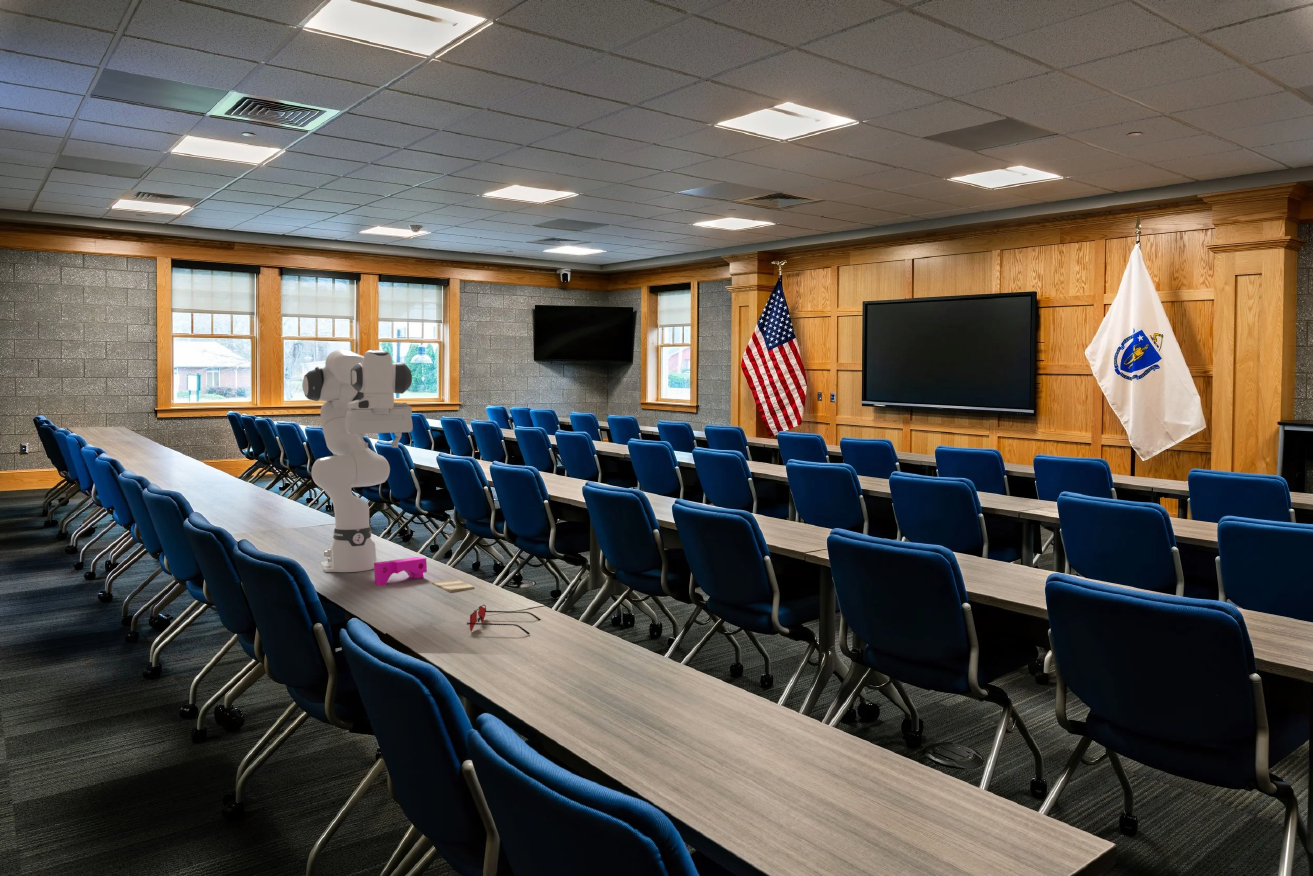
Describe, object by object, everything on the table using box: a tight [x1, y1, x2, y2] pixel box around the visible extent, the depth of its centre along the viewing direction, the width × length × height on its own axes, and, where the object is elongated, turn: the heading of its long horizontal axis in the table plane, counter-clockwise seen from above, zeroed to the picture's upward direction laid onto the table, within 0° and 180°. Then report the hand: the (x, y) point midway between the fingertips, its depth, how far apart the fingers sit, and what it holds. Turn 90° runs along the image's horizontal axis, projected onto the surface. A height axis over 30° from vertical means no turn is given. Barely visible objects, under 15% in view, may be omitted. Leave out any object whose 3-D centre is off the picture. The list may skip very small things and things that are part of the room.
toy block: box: [373, 556, 428, 587], centre depth 286 cm, size 15×6×8 cm, turn 134°
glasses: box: [466, 604, 542, 635], centre depth 233 cm, size 14×16×5 cm
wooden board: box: [431, 578, 475, 593], centre depth 279 cm, size 14×8×1 cm, turn 37°
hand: (380, 448), depth 274 cm, fingers open, 8 cm apart
